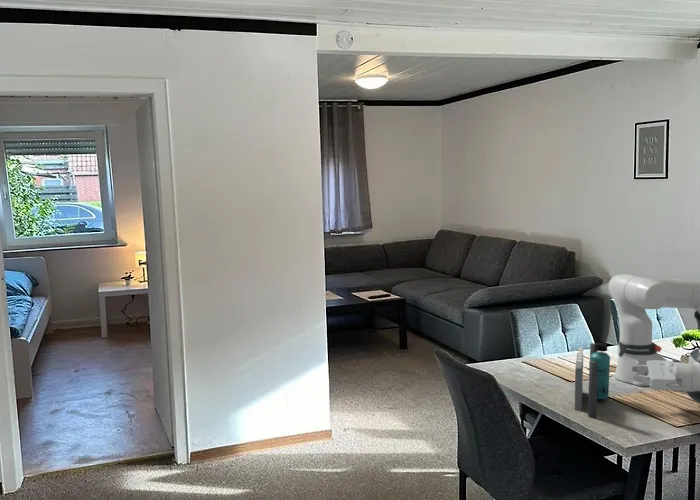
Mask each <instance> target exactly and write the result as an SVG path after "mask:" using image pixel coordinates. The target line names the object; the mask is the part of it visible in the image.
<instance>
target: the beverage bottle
mask: <svg viewBox="0 0 700 500" xmlns="http://www.w3.org/2000/svg"><path fill="white" fill-rule="evenodd" d="M594 349H595V350H597V351H598V352H594V353H593V354H591V361H596V362H597V400H598V399H599V400H604V399H608V397H609V393H610V391H609V390H610V368H611V367H610V364H611V363H610V362H611V356H610V355H609V354H608V353H607V352H608V345H607V343H605V342H596V343H595V347H594Z"/></svg>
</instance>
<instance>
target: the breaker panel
mask: <svg viewBox="0 0 700 500" xmlns="http://www.w3.org/2000/svg"><path fill="white" fill-rule="evenodd" d="M575 361H576V362H575V371H574V373H575V375H574V377H575V379H574V381H575V383H574V410H575V411H576V410H577V411H581V410H582V405H583V404H582V403H583V393H584V391H583V388H584V386H583V383H584V381H583V380H584V348H579V347H578V353H577V354H576V359H575Z"/></svg>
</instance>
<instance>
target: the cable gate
mask: <svg viewBox="0 0 700 500" xmlns="http://www.w3.org/2000/svg"><path fill="white" fill-rule="evenodd" d="M594 347H595V343H594V342H591V343H590V346H589V361H588V362H589V364H588V367H589V368H588V405H587V407H588V409H587V410H588V412H587V416H588V418H592V419H595V418H597V402H598V399H597V362H596V361H591V354H593V353H594V352H599V351H597V350H595V349H594Z"/></svg>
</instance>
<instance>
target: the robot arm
mask: <svg viewBox="0 0 700 500" xmlns="http://www.w3.org/2000/svg"><path fill="white" fill-rule="evenodd" d="M607 287H608V292H609V294H610V296H611V297H612V299H613V301H614V303H615V306H616V310H617V314H618V319H619V339H618V340H617V341H618V344H617V355H618V357H617V364H616V369H615V372H614V374H613V377H614V378H615V379H617V380H618V381H621V382H623V383H624V382H625V383H628V384H632V385H635V386H639V387H649V388H650V389H653V390H659V391H678V392H680V391H681V392H685V393H686V395H688V397H689V398H690V399H692V400H693V401H694V402H696V403H699V404H700V347H697V348H695V349H693V350H692V351H691V352H690V354H689V356H688V363H687V362H682V361H681V360H679V359H671V361H670V360H667V359H666V358H665V357H663V355H661V354H660V352H662V347H661V346H660V345H657V343H655V342H653V321H652V319H651V318H650V317H649V315H648V312H647V311H646V310H659V309H661V308H662V309H663V308H673V309H693V310H695V311H694V313H693V316H694V319H695V321H696V324H697V325H698V328H700V281H697V280H693V279H686V278H667V277H664V278H650V277H644V276H639V275H634V274H629V273H622V274H621V273H620V274H616V275H614V276H613V277H611V279H609V282H608V286H607Z"/></svg>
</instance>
